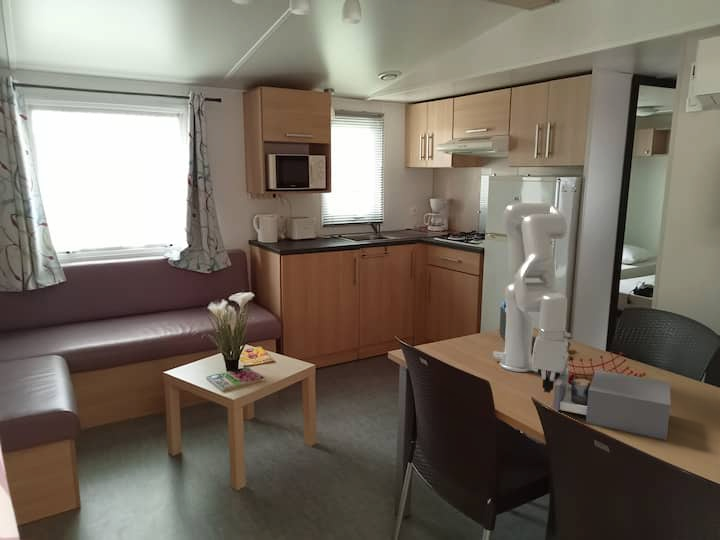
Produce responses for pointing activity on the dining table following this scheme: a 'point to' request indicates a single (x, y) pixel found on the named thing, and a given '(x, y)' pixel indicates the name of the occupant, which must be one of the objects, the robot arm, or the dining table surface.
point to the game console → (503, 321)
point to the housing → (629, 403)
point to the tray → (566, 397)
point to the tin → (580, 391)
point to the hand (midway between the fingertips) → (547, 390)
